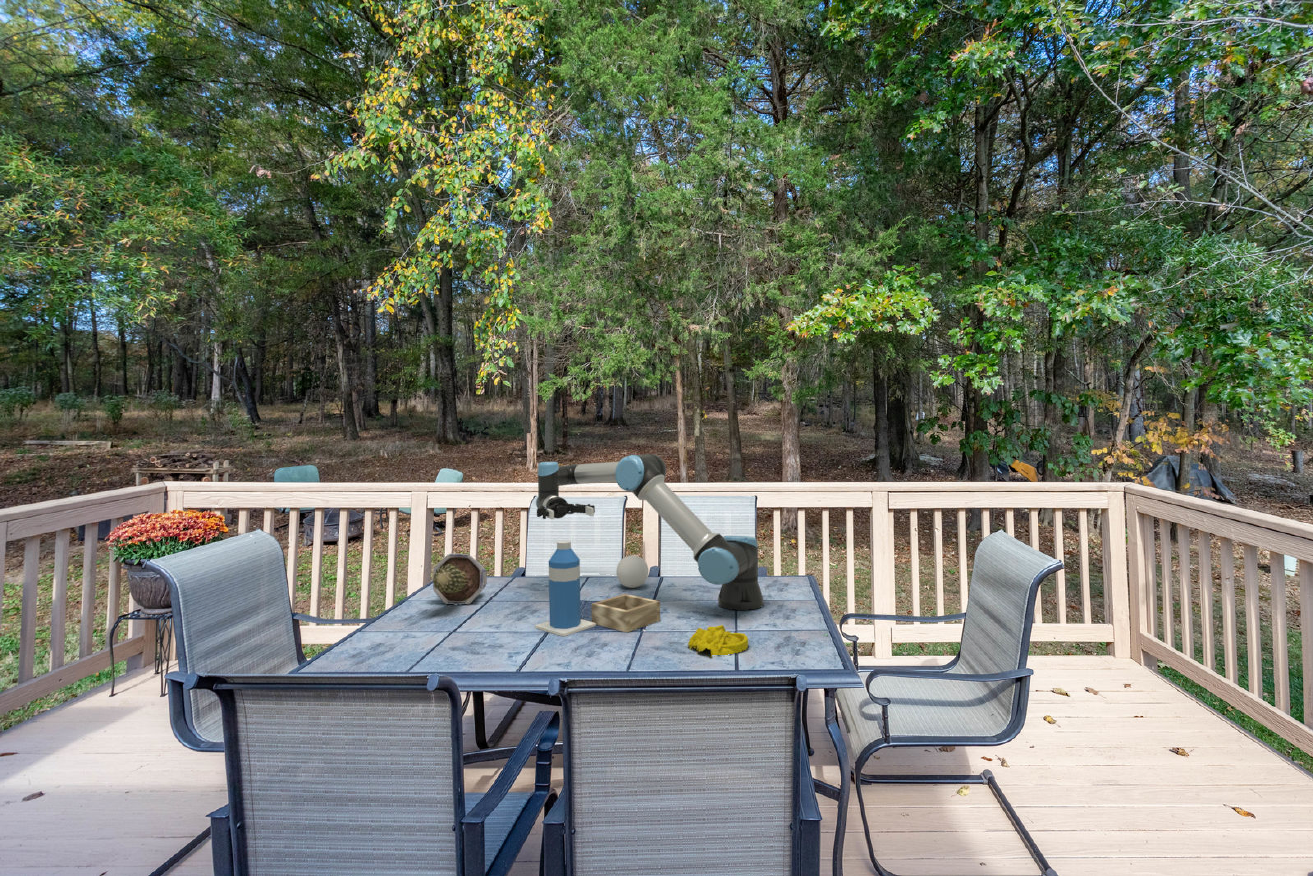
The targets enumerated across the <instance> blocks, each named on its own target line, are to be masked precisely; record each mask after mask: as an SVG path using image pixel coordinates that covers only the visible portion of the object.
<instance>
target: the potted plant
mask: <svg viewBox="0 0 1313 876" xmlns="http://www.w3.org/2000/svg"><path fill="white" fill-rule="evenodd" d="M487 580H488V572H487V569H486V568H485V567H484V566H483V565H482V564H481V563H480V561H478V560H477V559H476V558H474V557H473V556H471V554H469V553H448V554H447V555H446V556H444V557H443V558H442V559H441V561H439V562H438V563H437V564H436V565H435V567H433V576H432V589H433V591H434V593H435V594H436V596H438V598H439V599H440V600H441V601H442V602H443V603H444V604H445V605H447V604H468V605H470V604H471V603H472V602H473V601H474V600H475V599H476V598H477V597H478V596H479V595H480V594H481V592H482V591H483V590H485V587H486V586H487V583H488V582H487Z"/></svg>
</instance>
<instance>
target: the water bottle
mask: <svg viewBox="0 0 1313 876" xmlns="http://www.w3.org/2000/svg"><path fill="white" fill-rule="evenodd" d="M551 555H552V556H551V557H550V558H549V560H548V593H549V594H548V602H549V607H548V608H549V610H548V611H549V621H550V626H552V627H554V628H559V629H568V628H573V627H577V626H578V625H579V624H580V623H581V618H582V616H581V613H582V611H581V563H580V561H581V559H580V558H579V556H578V555H577V554H576V553H575V552H574V550H573V548H572V542H571V541H570V540H561V541H560V540H559V541H557V542H556V550H555V551H554V553H553V554H551Z"/></svg>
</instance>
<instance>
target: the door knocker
mask: <svg viewBox="0 0 1313 876" xmlns="http://www.w3.org/2000/svg"><path fill="white" fill-rule="evenodd" d="M748 647H749V637H748V636H747V635H746V634H745V633H742V632H731V631H730V630H729V631H728V630H726V628H725V626H724V625H723V624H720V625H718V626H717V625H716V626H712V625H711V626H708V627H707V629H703V628H700V627H699V628H697V629H696V631H695V632H694V634H692V635H691V637H690V638H689V640H688V643H687V648H689V650H691V649H696V651H698V653H700V652H703V651H704V650H706V649H707V650H709V651H710V658H711V657H712V655H728V654H733V655H735V654H734V653H737V654H739V653H738V652H740V653H742V652H743V651H744V650H745V651H746V650H747V649H748ZM691 651H692V650H691ZM712 658H713V657H712Z"/></svg>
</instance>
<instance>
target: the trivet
mask: <svg viewBox="0 0 1313 876" xmlns="http://www.w3.org/2000/svg"><path fill="white" fill-rule="evenodd" d="M596 626H597V624H596V623H593V622H592V621H589V620H585V619H581V623H580V624H579V625H578V626H577V627H573V628H568V629H559V628H554V627H552V626H550V620H549V621H545V622H542V623H538V624H535V625H534V629H536V628H538V629H537V630H540V631H544V632H547V633H549V634H553V635H557V636H560V637H566V636H570V635H572V634H573V635H574V634H576V633H579V632H582V631H584V630H588V629H591V628H594V627H596Z"/></svg>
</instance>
